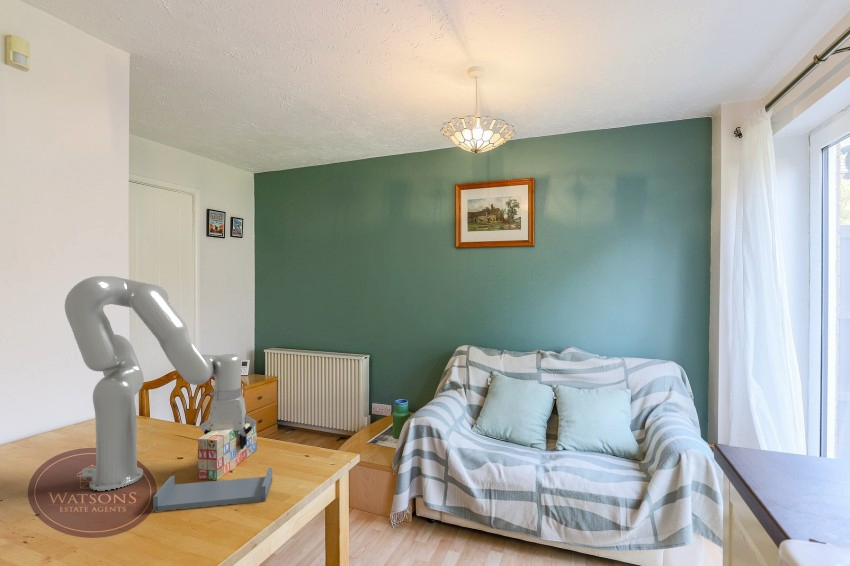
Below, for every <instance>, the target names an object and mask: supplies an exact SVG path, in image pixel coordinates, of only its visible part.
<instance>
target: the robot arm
mask: <svg viewBox="0 0 850 566" xmlns="http://www.w3.org/2000/svg"><path fill="white" fill-rule="evenodd" d="M64 301H65V302H64V311H65V316H66V318H67V321H68V324H69V325H70V328H71V331H72V333H73V335H74V339H75V342H76V344H77V348H78V349H79V352H80V354H81V357H82V360H83V362H84V364H85V366H86V367H87V368H88V369H90V370H91V371H94V372H102V374H103V376H104V377H103V378H101V379H100V380H99V381H98V382H97V383H96V385H95V386H94V388H93V392H92V404H93V408H94V409H93V410H94V416H95V444H96V445H95V451H96V452H95V453H96V455H95V457H96V460H95V461H96V465H95V467H84V468H82V470H81V479H88V478H91V479H90V481H89V489H91V490H92V489H93V490H92V491H95V490H97V491H96V492H106V491H105V490H108V491H112V490H111V489H114V490H117V489H116V488H118V489H121V488H120V487H122V488H125V487H127V485H128V486H130V485H132V484H135V483H136V482H137V481H139V480H140V479H142V477H143V476H144V470H143V468H141V467H138V465H137V464H138V452H137V451H138V444H137V443H138V442H137V439H138V438H137V437H138V435H137V431H138V430H137V428H138V427H137V425H138V424H137V410H136V403H135V402H136V401H135V396H136V395H137V394H138V393H139V392H140V391H141V389H142V388H143V385H144V382H145V381H144V378H145V377H144V374H143V371H142V368H141V366H140V363H139V360H138V358H137V355H136V353H135V349H134V348H133V345H132V343H131V342H130V341H129V340H128V339H127V338H126V337H124V336H122V335H120V334H115V333H114V331H113V328H112V325H111V323H110V320H109V318H108V317H107V315H106V314H105V312H104V308H105V306H108V305H115V306H119V307H121V306H122V307H126V308H131V309H132V310H133V311H134V313H135V314H136V315H137V316H138V318H140V320H141V321H142V322H143V324H145V326H146V327H147V328H148V330H149V331H150V332H151V334H152V335H153V336H154V338H155V339H156V340H157V341H158V344H159V346H160V348H161V349H162V351H163V352H164V355H165V356H166V358H167V360H168V361H169V363H170V364H171V366H173V368H174V369H175V371H176V372H177V373H178V374H179V375H180V377H181V378H183V380H184V381H186V383H188V384H190V385H193V386H199V385H203V384H205V383H207V382H208V381H209V380H210V379H211V377H214V389H213V390H210V391H209V396H213V399H212V400H211V404H210V411H209V418H208V419H207V420H206V421H204V422H203V423H201V424H200V426H199V428H200V429H201V431H202V432H203V433H204V435H205V434H207V433H209V432H211V431H212V430H227V429H234V431H239V432H240V433H241V437H240V449H243V448H244V446H245V445H246V444H247V434H248V433H249V432H250V431H251V429H252V428H253V427H254V425H255V424H256V425H257V420H255V419H253V417H251V416H249V415H247V411H246V409H247V408H246V404H245V403H246V401H245V398H244V396H243V395H242V362H241V361H242V359H241V356H240V355H239V354H236V353H235V354H234V353H227V354H220V355H219V354H218V355H217V354H216V355H215V354H200V352H199V351H198V350H197V348H196V347H195V345H194V343H193V342H192V340H191V338H190V335H189V331H188V326H187V324H186V322H185V321H184V320H183V318H182V317H181V316H180V314H178V312H177V311H176V310H175V308H174V307H173V306H172V305H171V302H169V295H168V292H167V291H166V290H165V288H164V287H162V286H159V285H158V284H152V283H146V282H142V281H137V280H132V279H127V278H124V277H120V276H119V277H118V276H111V275H108V276H106V275H105V276H104V275H98V276H97V275H96V276H91V277H87V278H85V279H83V280H81V281H79V282H78V283H76V284H75V285H74V286H73V287H72V288H71V289H70V290H69V291H68V293H67V295H66V297H65V300H64ZM246 423H250V426H249V427H248V428H247V429H246V427H245V426H244V425H245V424H246ZM208 426H209V427H208ZM129 484H130V485H129ZM124 486H125V487H124Z"/></svg>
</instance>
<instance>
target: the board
mask: <svg viewBox="0 0 850 566" xmlns="http://www.w3.org/2000/svg"><path fill="white" fill-rule="evenodd" d="M266 471H267V472H266V474H265V476H256V477H245V478H244V477H243V478H235V479H234V478H233V479H224V480H209V481H200V482H192V483H191V482H190V483H179V484H177V483H176V484H175V482H176V481H175V477H176V476H175V475H170V476H169V478H168V479H167V480H166V481H165V482H164V483H163V485H162V486H161V487H160V488H159V489H158V490H157V492H156V493H155V494H154V495H153V496H152V504H153V506H152V507H153V509H152V512H153V513H155V512H154V511H162V512H166V511H165V510H172V511H175V510H174V509H182V510H189V509H190V510H192V509H198V508H197V507H202V508H209V507H208V506H212V507H218V506H217V505H222V506H228V505H227V504H232V505H239V504H240V503H242V504H249V503H250V504H251V503H259V502H267V498H268V495H269V493H270V490H271V489H270V488H271V486H272V482H273V467H267V470H266ZM191 508H192V509H191Z"/></svg>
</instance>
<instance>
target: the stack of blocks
mask: <svg viewBox="0 0 850 566" xmlns="http://www.w3.org/2000/svg"><path fill="white" fill-rule="evenodd" d="M244 426H245V427H246V429H247V428H248V427H249V426H250V423H248V422H246V424H245V425H244ZM257 436H258V432H257V423H256V424H255V425H254V427H253V428H252V429H251V431H250V432H249V433H248V434H247V444H246V445H245V446H244V448H243V449H240V437H241V433H240V432H239V431H234V429H227V430H212V431H211V432H209V433H207V434H204V435H201V437H198V438H197V464H198V465H197V467H198V468H197V471H198V472H197V476H198V477H197V478H201V479H200V480H205V479H215V480H214V481H218V480H219V478H220V477H221V478H222V477H223V476H225V475H226V474H228V473H229V472H231V470H233V469H234V468H235V467H237V466H238V465H239V464H240V463H241V462H243V461H244V460H245V459H247V458H249V457H250V456H251V455H252V454H254V453H255V452H256V451H257V449H258V448H257V446H258V445H257V444H258V443H257V441H258V437H257ZM221 478H220V479H221ZM217 479H218V480H217Z"/></svg>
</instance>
